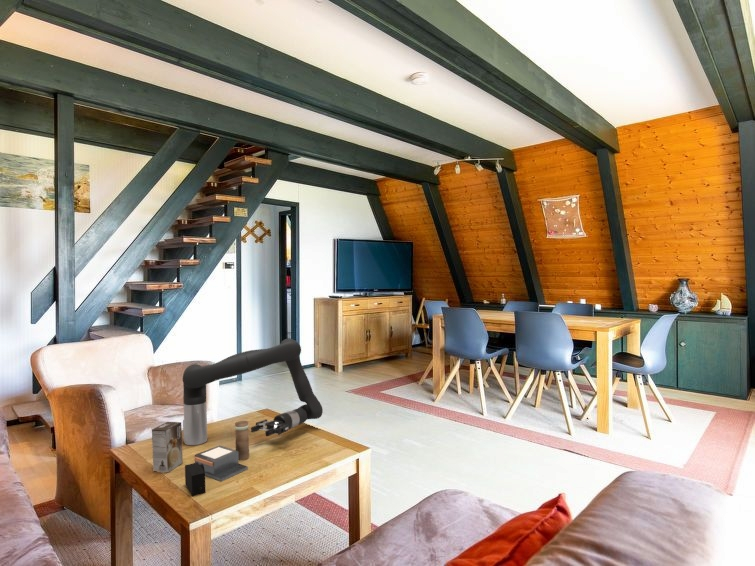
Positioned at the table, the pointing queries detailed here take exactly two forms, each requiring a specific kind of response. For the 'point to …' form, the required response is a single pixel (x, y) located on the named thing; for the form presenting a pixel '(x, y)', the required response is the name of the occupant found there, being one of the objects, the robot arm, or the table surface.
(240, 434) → the column
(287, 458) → the table surface
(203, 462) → the step stand
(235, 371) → the robot arm
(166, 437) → the coffee box
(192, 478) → the digital camera
